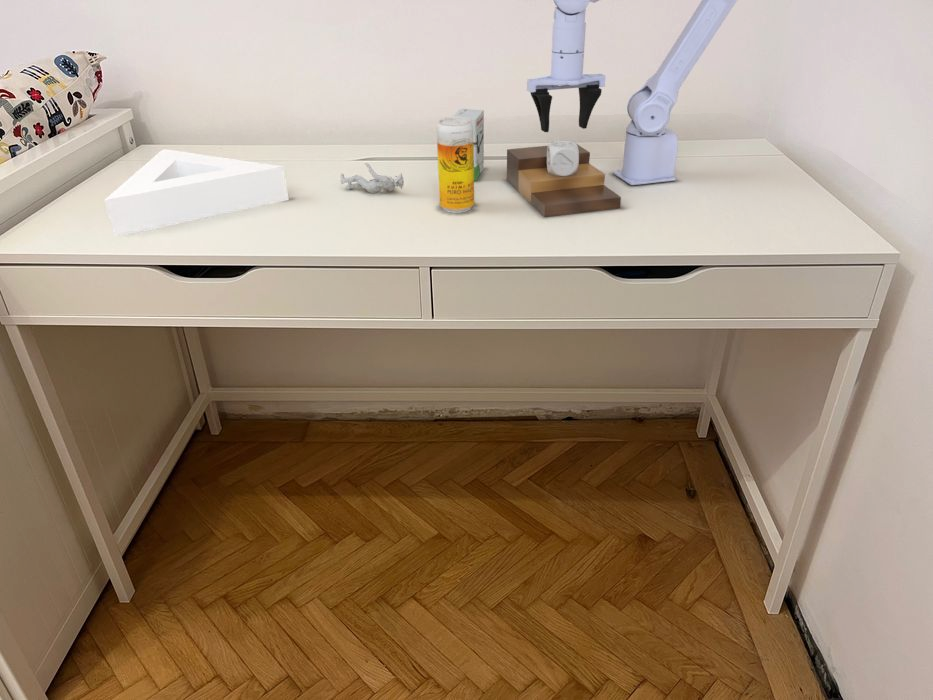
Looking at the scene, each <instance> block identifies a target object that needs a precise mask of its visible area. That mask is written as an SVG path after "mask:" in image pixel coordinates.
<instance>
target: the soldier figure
mask: <svg viewBox="0 0 933 700" xmlns="http://www.w3.org/2000/svg"><path fill="white" fill-rule="evenodd" d="M364 165H365V166H366V168H367V169H368V172H369V173H370V175H371V176H372V178H373V179H369V180H367V179H366V178H365V177H362V176H361V175H359V174H355V175H353V176H349V177H345V174H344V173H341V174H340V184H341V185H343V184H346V183H347V187H346V188H347V190H351V189H358V188H363V189H364V190H365V191H366V192H368V193H370V194H375V193H378V192H380V191H382V190H384V191H385V190H387V191H388V192H392V191H393V190H394V189H395V188H396V187H399V188H400V189H401V190H402V189H403V187H404V185H405V181H404V176H403V173H402V172H401V173H400V174H398V175H397V176H396V175H395V176H393V177H392V176H388V175H380V174H377V173H376V172H375V171H374V169H373V168H372V166H371V165H370V164H369V162H365V163H364Z"/></svg>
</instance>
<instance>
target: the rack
mask: <svg viewBox="0 0 933 700" xmlns="http://www.w3.org/2000/svg"><path fill="white" fill-rule="evenodd" d="M576 144H577V146H578V151H579V164H578V170H577V172H576V173H574V174H573V175H570V176H554V175H551V174H549V173H548V170H547V148H548V145H540V146H529V147H517V148H508V149H506V182H508V183H509V184H510V185H511V186H512V187H513V188H514V189H515V190H516V191H517V192H518V193H520V195H521V196H522V197H523V198H524V199H525V200H526V201H527V202H529V204H530V205H531V206H533V207H534V209H536V211H537V212H539V214H540V215H542V216H543V217H544V218H548V217H549V218H550V217H557V216H565V215H566V216H567V215H573V214H574V215H575V214H582V213H591V212H599V211H608V210H616V209H621V203H622V197H621V196H620V195H619V194H617V193H616V192H615V191H614V190H612V189H611V188H609V187H608V186H607V185H605V180H606V179H605V178H606V177H605V176H606V174H605V173H604V172H603V171H601V170H600V169H599V168H597V167H595V166H594V165H593V164H592V163H590V157H591V152H590V151H588V150H587V149H586V148H584V147H582V146H580V145H579V143H576Z"/></svg>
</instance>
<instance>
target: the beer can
mask: <svg viewBox="0 0 933 700" xmlns="http://www.w3.org/2000/svg"><path fill="white" fill-rule="evenodd" d="M436 147H437V150H436V151H437V169H438V170H437V171H438V194H439V195H438V197H439V205H440V207H441V208H442V210H443V211H445V212H448V213H453V214H459V213H461V214H462V213H465V212H468V211H470V210H471V209H472V207H473V206H474V205H475V180H474V148H473V126H472V124H471V120H470V119H468V118H463V117H453V116H451V117H443V118H441V119H439V120H438V124H437V125H436Z"/></svg>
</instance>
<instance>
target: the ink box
mask: <svg viewBox="0 0 933 700" xmlns="http://www.w3.org/2000/svg"><path fill="white" fill-rule="evenodd" d="M484 111H485V110H483V109H471V108H459V109H458V110H457V111H456V112H455V114H453V115H452V117H463V118H468V119H470V120H471V124H472V126H473V148H474V181H477V180H478V179H479V177H480V175H481V174H482V172H483V170H484V165H485V164H484V163H485V162H484V161H485V160H484V156H485V155H484V154H485V153H484V147H485V145H484V144H485V143H484V141H485V140H484V139H485V136H484V133H485V132H484V131H485V130H484V129H485V127H484V126H485V112H484Z"/></svg>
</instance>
